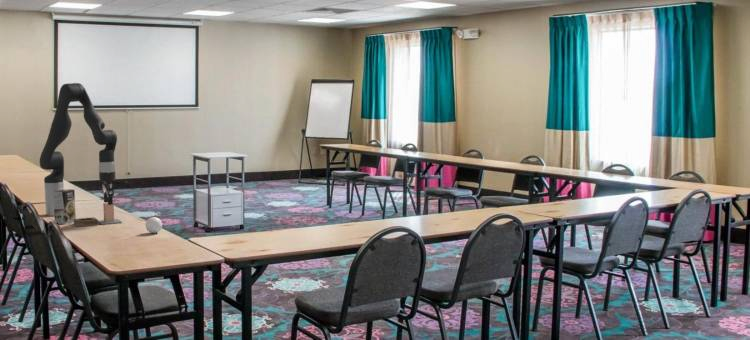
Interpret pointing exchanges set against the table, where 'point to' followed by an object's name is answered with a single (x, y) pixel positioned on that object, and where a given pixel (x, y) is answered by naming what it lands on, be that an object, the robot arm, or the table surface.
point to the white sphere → (153, 225)
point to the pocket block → (85, 222)
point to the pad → (109, 222)
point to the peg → (108, 212)
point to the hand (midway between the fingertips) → (108, 203)
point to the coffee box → (64, 206)
